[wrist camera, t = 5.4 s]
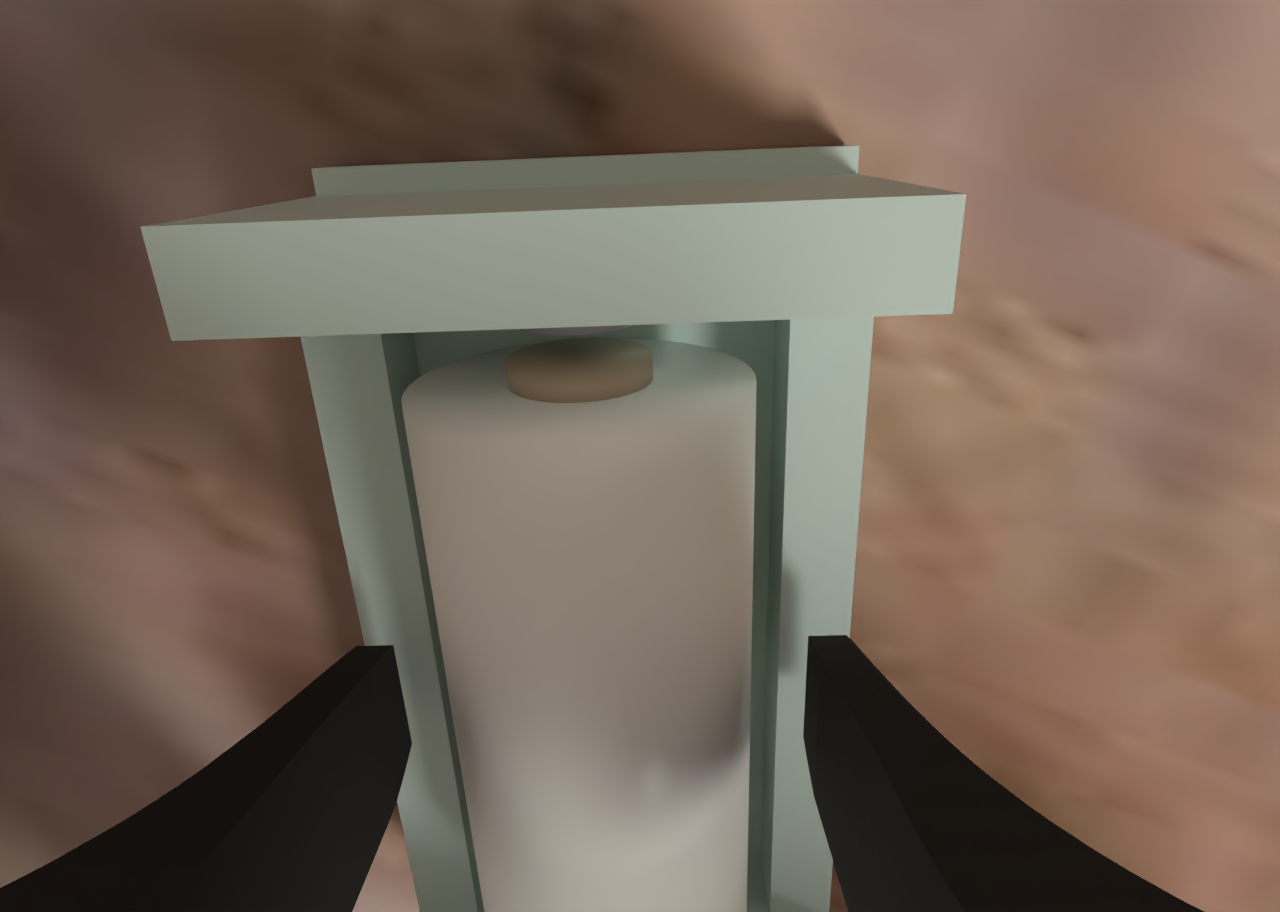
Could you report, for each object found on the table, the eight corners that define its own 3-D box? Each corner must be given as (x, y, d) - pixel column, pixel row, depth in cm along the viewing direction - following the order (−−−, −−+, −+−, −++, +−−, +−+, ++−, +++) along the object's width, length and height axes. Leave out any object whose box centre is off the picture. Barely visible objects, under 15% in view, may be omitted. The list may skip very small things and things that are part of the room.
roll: (750, 818, 16) (741, 1067, 12) (532, 796, 17) (448, 1022, 13) (760, 316, 12) (751, 416, 8) (474, 317, 13) (323, 410, 9)
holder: (805, 873, 19) (859, 1136, 14) (457, 877, 19) (388, 1137, 14) (846, 145, 12) (970, 150, 8) (331, 166, 13) (128, 185, 8)
